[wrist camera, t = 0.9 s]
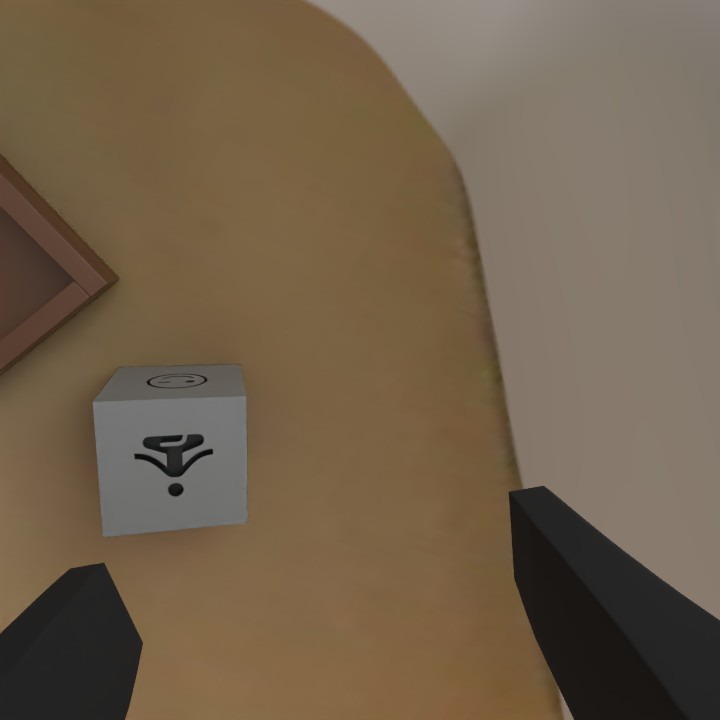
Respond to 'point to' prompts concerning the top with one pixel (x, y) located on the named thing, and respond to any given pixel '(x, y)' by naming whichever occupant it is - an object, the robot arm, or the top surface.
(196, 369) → the dice cube
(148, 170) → the top surface
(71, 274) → the tray
